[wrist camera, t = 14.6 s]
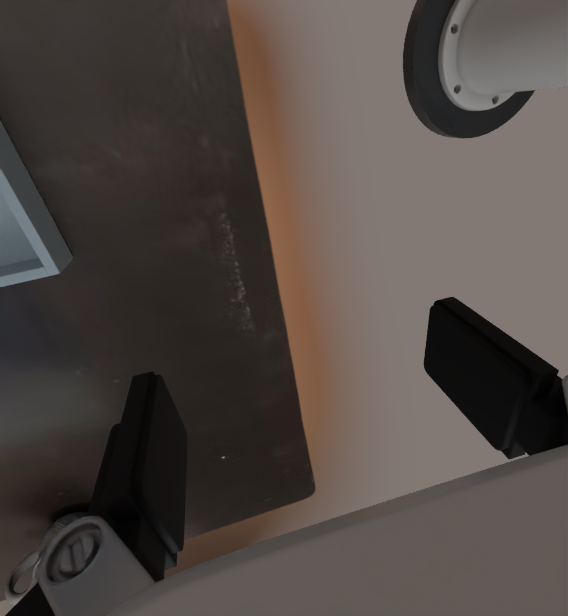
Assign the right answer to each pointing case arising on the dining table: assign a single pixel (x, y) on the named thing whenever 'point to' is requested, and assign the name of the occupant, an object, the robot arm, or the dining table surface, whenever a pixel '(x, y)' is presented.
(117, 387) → the dining table surface
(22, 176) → the blue-grey tray
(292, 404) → the dining table surface
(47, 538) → the mug
